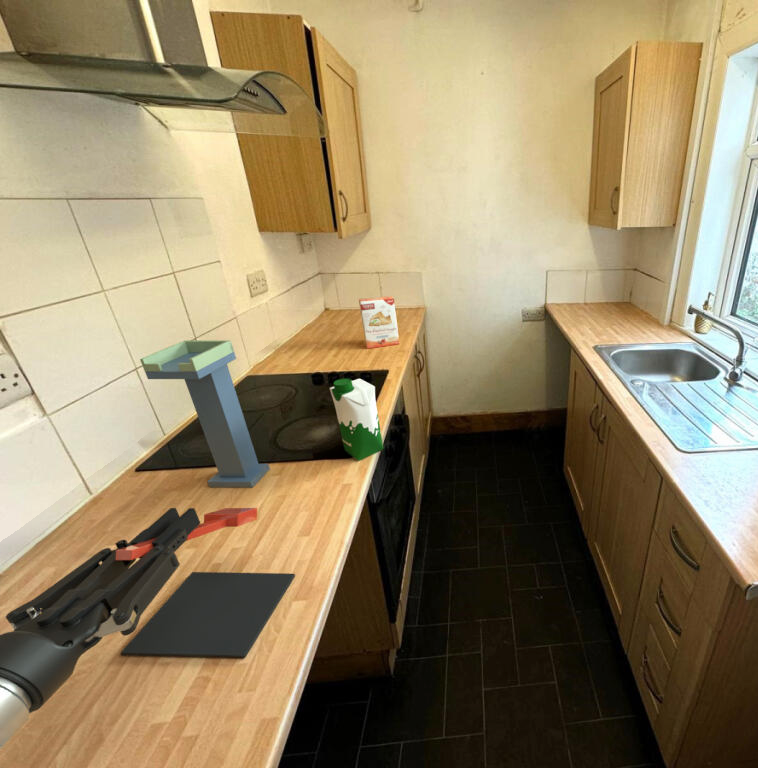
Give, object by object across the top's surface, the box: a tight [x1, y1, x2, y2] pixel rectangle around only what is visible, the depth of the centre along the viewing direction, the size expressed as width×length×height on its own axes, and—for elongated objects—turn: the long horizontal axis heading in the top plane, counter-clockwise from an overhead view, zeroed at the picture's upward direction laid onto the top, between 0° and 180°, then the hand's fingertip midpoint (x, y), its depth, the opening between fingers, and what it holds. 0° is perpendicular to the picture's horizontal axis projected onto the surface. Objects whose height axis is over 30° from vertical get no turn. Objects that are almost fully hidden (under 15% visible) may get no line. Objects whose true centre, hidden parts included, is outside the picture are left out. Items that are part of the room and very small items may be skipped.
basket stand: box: [139, 339, 271, 489], centre depth 88 cm, size 10×11×32 cm
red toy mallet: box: [115, 507, 258, 560], centre depth 60 cm, size 6×21×2 cm, turn 179°
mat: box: [120, 571, 296, 659], centre depth 65 cm, size 18×14×1 cm
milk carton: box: [329, 378, 384, 462], centre depth 103 cm, size 9×9×20 cm
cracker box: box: [358, 295, 400, 349], centre depth 180 cm, size 14×6×21 cm, turn 115°
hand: (185, 515), depth 59 cm, fingers closed on red toy mallet, 2 cm apart
